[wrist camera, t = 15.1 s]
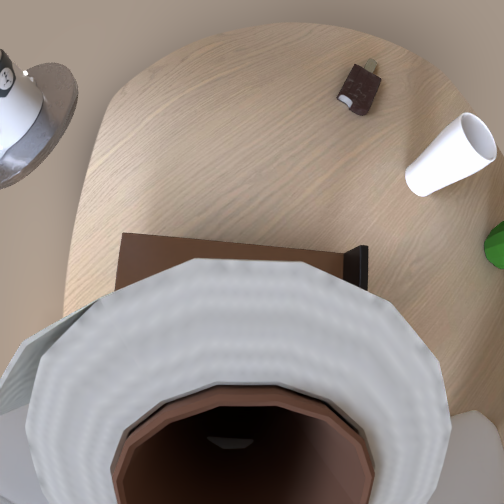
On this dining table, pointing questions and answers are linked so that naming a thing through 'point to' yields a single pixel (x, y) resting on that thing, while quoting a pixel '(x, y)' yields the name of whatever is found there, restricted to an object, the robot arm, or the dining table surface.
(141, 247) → the rack
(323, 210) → the dining table surface
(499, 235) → the bell pepper
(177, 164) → the dining table surface
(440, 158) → the drinking glass
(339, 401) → the paper towel roll
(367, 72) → the ice cream bar
